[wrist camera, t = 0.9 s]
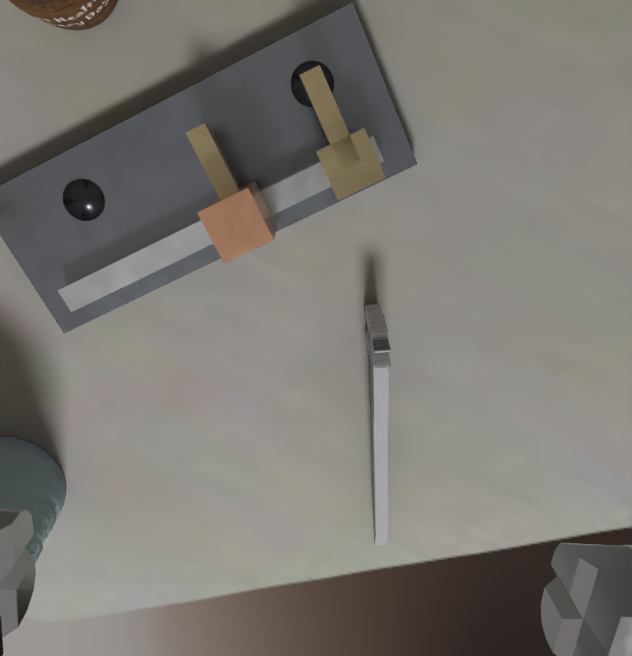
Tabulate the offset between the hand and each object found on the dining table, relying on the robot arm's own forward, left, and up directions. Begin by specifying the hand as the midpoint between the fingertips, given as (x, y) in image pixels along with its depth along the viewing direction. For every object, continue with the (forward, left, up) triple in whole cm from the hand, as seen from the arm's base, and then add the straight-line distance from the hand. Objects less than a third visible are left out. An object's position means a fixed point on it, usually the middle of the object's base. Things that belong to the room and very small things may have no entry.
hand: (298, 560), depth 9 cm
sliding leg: (+2, -5, -30) cm, 31 cm away
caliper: (+1, +16, -33) cm, 36 cm away
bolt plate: (+4, -6, -32) cm, 33 cm away
